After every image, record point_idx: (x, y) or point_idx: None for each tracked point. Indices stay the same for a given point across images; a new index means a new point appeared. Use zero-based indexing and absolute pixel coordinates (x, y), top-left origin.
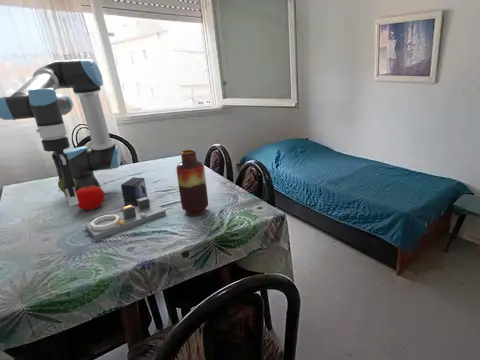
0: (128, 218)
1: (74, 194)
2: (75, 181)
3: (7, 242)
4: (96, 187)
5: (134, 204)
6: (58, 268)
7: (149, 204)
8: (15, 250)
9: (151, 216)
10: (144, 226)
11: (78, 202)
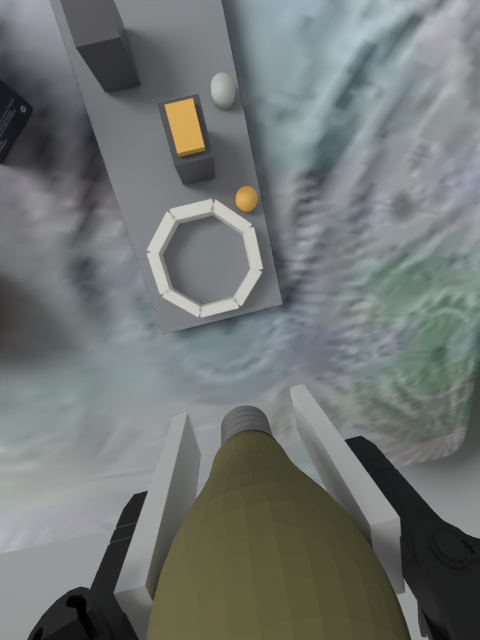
0: None
1: (378, 449)
2: (323, 556)
3: None
4: None
5: (19, 108)
6: (369, 387)
7: (118, 11)
8: None
9: (231, 61)
10: (276, 125)
11: (306, 388)
